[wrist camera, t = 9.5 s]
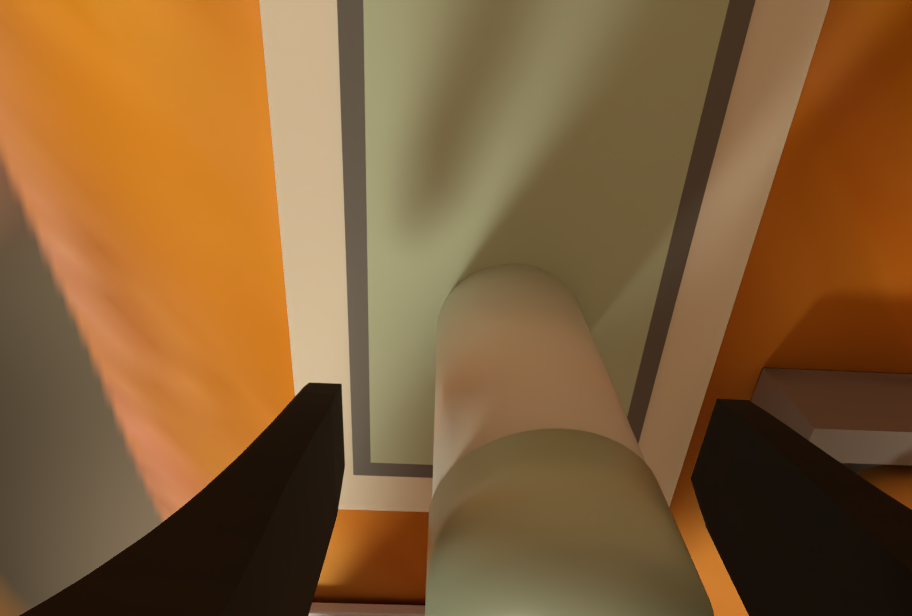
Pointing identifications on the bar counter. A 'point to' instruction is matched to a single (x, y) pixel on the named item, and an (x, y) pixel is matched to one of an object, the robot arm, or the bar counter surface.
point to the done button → (891, 481)
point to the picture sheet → (521, 192)
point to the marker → (541, 468)
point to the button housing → (843, 412)
